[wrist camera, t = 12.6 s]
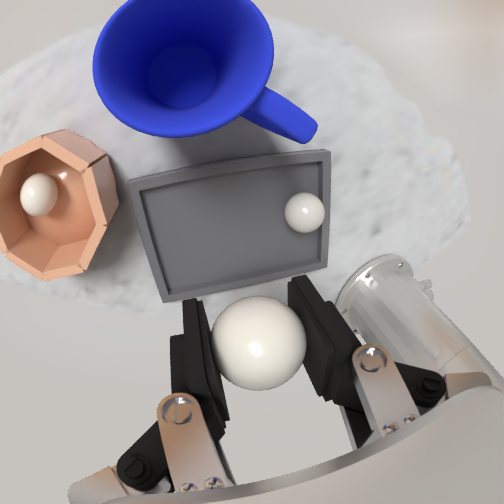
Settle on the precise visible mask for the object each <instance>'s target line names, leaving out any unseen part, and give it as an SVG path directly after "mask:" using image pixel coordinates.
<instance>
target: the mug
mask: <svg viewBox="0 0 504 504" xmlns="http://www.w3.org/2000/svg"><path fill="white" fill-rule="evenodd" d="M273 59H274V44H273V38H272V33H271V30H270V28H269V25H268V23H267V21H266V19H265V17H264V16H263V14H262V13H261V11H260V10H259V9H258V8H257V7H256V5H255V4H254V3H253V2H252V1H250V0H128V1H127V2H126V3H125V4H123V5H122V6H121V7H120V8H119V9H118V10H117V11H116V12H115V13H114V14H113V15H112V17H111V18H110V19H109V20H108V22H107V23H106V25H105V26H104V28H103V30H102V32H101V34H100V36H99V38H98V41H97V43H96V46H95V50H94V55H93V78H94V83H95V86H96V89H97V92H98V94H99V96H100V98H101V100H102V102H103V103H104V105H105V106H106V107H107V109H108V110H109V111H110V112H111V113H112V114H113V115H114V116H115V117H116V118H117V119H118V120H120V121H121V122H122V123H124V124H125V125H127V126H129V127H131V128H133V129H135V130H137V131H139V132H142V133H145V134H149V135H152V136H158V137H166V138H183V137H191V136H196V135H200V134H204V133H207V132H210V131H213V130H216V129H218V128H220V127H222V126H224V125H226V124H228V123H229V122H231V121H233V120H234V119H236V118H237V117H238V116H242V117H244V118H246V119H247V120H249V121H251V122H253V123H255V124H257V125H258V126H260V127H263V128H265V129H267V130H269V131H271V132H274V133H276V134H278V135H281V136H283V137H286V138H288V139H291V140H293V141H295V142H298V143H300V144H306V143H308V142H309V141H310V140H311V139H312V138H313V136H314V135H315V133H316V131H317V127H318V125H317V122H316V121H315V120H314V119H313V118H311V117H310V116H309V115H308V114H306V113H305V112H304V111H303V110H301V109H300V108H299V107H297V106H296V105H295V104H293V103H292V102H290V101H289V100H287V99H286V98H284V97H283V96H281V95H279V94H278V93H276V92H274V91H272V90H271V89H269V88H267V87H265V85H266V83H267V81H268V79H269V76H270V73H271V70H272V66H273Z"/></svg>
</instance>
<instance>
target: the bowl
mask: <svg viewBox="0 0 504 504" xmlns="http://www.w3.org/2000/svg"><path fill="white" fill-rule="evenodd" d="M105 154H106V152H104V151H102V150H101V149H99V148H98V147H97V146H96V145H95V144H94V143H93V142H91V141H90V140H88V139H86V138H84V137H82V136H80V135H77V134H75V133H73V132H72V131H70V130H68V129H67V130H65V129H64V130H60V131H56V132H52V133H48V134H45V135H41V136H39V137H37V138H35V139H32V140H30V141H28V142H26V143H24V144H22V145H20V146H18V147H16V148H14V149H12V150H10V151H8V152H7V153H5V154H3V155H1V156H0V157H1V158H0V248H1V251H2V253H3V255H4V254H6V255H5V257H6V258H7V259H9V260H10V261H12V262H13V263H15V264H16V265H18V266H19V267H21V268H22V269H24V270H25V271H27V272H29V273H30V274H32V275H33V276H35V277H37V278H38V279H40V280H43V279H44V281H48V280H53V279H57V278H61V277H66V276H70V275H75V274H79V273H83V272H84V271H85V270H87V268H88V265H89V263H90V261H91V259H92V257H93V255H94V253H95V251H96V249H97V247H98V245H99V243H100V241H101V239H102V237H103V235H104V233H105V231H106V229H107V227H108V225H109V223H110V221H111V219H112V218H113V216H114V214H115V212H116V210H117V208H118V207H119V206H118V204H119V200H118V196H117V188H116V181H115V176H114V173H113V170H112V167H111V165H110V163H109V158H108V156H105ZM36 173H45V174H48V175H50V176H51V177H52V178H53V179H54V180H55V182H56V184H57V188H58V198H57V202H56V204H55V206H54V208H53V209H52V210H51V211H50V212H49V213H48V214H46V215H44V216H40V217H35V216H31V215H29V214H28V213H27V212H26V211H25V210H24V209H23V207H22V205H21V201H20V192H21V188H22V186H23V184H24V182H25V181H26V180H27V179H28V178H29V177H30V176H31V175H33V174H36Z"/></svg>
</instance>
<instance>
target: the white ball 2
mask: <svg viewBox="0 0 504 504" xmlns="http://www.w3.org/2000/svg"><path fill="white" fill-rule="evenodd" d="M210 344H211V349H212V354H213V358H214V361H215V365H216V368H217V369H218V371H219V372H220V373H221V374H222V375H223V376H224V377H225V378H226V379H227V380H228V381H229V382H231V383H233V384H234V385H236V386H238V387H241V388H244V389H248V390H255V391H257V390H258V391H261V390H269V389H272V388H275V387H278V386H280V385H282V384H283V383H285V382H287V381H288V380H289V379H290V378H291V377H293V375H294V374H295V373H296V372H297V371H298V370H299V368H300V366H301V364H302V363H303V360H304V357H305V354H306V348H307V339H306V333H305V330H304V327H303V324H302V322H301V320H300V318H299V317H298V316H297V314H296V313H295V312H294V311H293V310H292V309H291V308H290V307H289V306H287V305H286V304H284V303H283V302H281V301H279V300H276V299H274V298H270V297H264V296H252V297H247V298H243V299H240V300H238V301H236V302H234V303H232V304H231V305H229V306H228V307H227V308H226V309H225V310H224V311H223V312H222V313H221V314H220V315H219V316H218V318H217V319H216V321H215V323H214V325H213V328H212V331H211V335H210Z"/></svg>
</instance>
